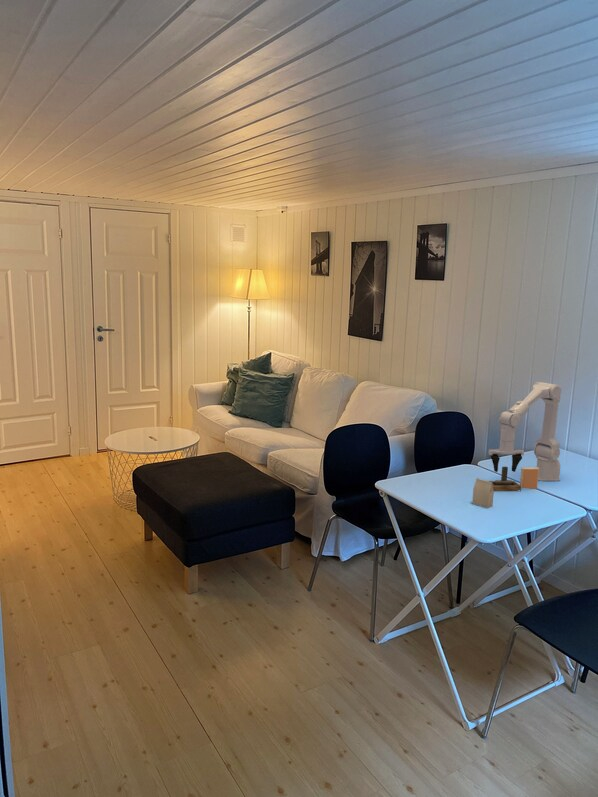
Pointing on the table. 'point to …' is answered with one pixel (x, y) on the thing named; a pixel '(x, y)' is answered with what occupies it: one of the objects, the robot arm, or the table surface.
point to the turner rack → (506, 487)
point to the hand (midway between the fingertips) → (504, 471)
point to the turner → (503, 478)
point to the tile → (529, 477)
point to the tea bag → (483, 493)
